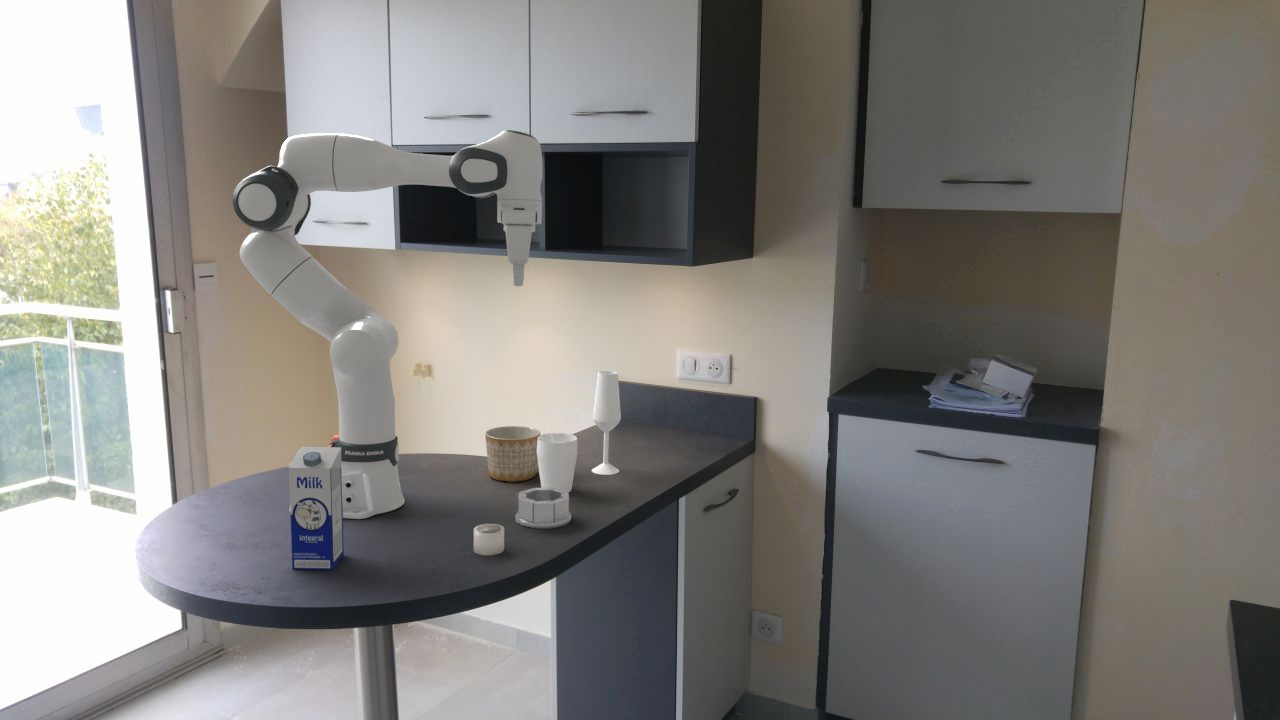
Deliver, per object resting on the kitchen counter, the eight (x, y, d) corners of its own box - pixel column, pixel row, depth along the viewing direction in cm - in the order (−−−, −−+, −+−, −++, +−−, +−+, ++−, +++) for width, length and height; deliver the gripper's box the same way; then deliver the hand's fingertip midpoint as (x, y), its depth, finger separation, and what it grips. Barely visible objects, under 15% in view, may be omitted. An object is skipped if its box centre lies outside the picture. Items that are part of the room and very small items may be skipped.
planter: (531, 486, 204) (531, 441, 202) (477, 481, 206) (477, 437, 204) (545, 470, 216) (546, 427, 214) (494, 466, 218) (495, 424, 216)
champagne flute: (609, 476, 213) (611, 376, 209) (585, 471, 216) (587, 372, 212) (624, 469, 218) (627, 372, 214) (601, 465, 222) (603, 368, 218)
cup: (570, 498, 196) (571, 444, 194) (530, 494, 198) (531, 441, 196) (581, 486, 205) (582, 434, 203) (543, 482, 206) (543, 431, 204)
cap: (472, 555, 162) (472, 533, 162) (474, 544, 168) (474, 523, 167) (503, 555, 163) (503, 533, 162) (504, 544, 168) (504, 522, 168)
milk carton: (344, 555, 161) (342, 446, 157) (333, 570, 154) (330, 456, 151) (304, 554, 160) (300, 445, 157) (291, 569, 154) (287, 455, 151)
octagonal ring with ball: (514, 529, 176) (514, 504, 175) (516, 510, 187) (516, 487, 186) (572, 528, 177) (572, 504, 177) (570, 509, 188) (570, 486, 188)
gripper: (505, 213, 190) (504, 279, 193) (501, 214, 170) (501, 288, 173) (535, 214, 191) (534, 280, 193) (535, 215, 171) (534, 288, 173)
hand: (518, 283), depth 183 cm, fingers open, 8 cm apart
